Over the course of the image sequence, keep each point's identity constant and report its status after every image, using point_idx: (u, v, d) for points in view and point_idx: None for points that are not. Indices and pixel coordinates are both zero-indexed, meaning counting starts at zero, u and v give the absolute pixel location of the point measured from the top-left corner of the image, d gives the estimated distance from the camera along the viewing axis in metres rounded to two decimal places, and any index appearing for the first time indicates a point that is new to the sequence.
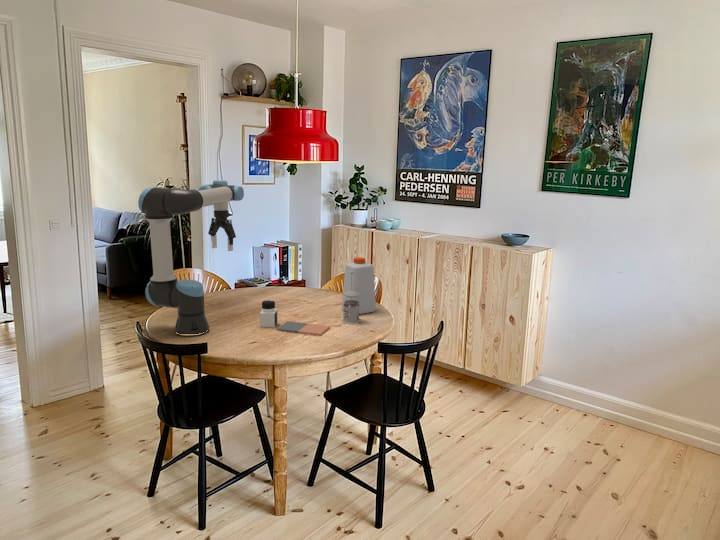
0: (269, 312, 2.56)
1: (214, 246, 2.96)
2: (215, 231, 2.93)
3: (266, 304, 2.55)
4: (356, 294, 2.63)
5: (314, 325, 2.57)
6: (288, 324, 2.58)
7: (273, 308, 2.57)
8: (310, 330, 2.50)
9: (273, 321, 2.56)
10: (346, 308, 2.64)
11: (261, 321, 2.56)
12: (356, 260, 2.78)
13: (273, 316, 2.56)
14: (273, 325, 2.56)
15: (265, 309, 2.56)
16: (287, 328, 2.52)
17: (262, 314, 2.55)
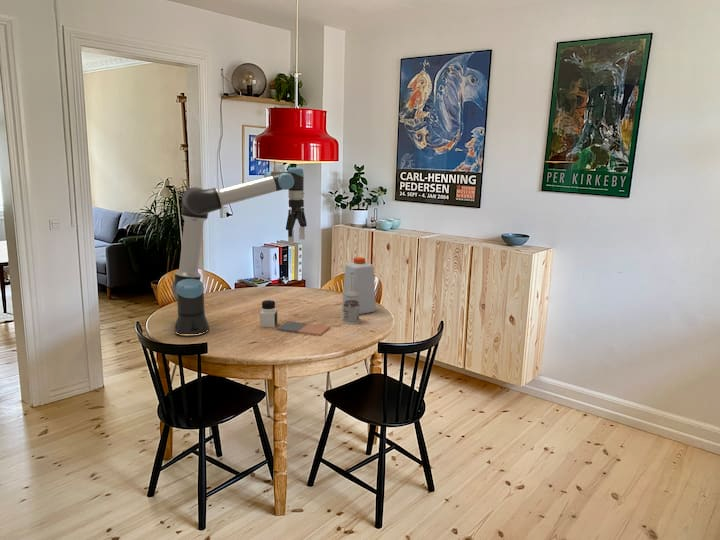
0: (269, 312, 2.56)
1: (301, 237, 2.82)
2: (300, 221, 2.79)
3: (266, 304, 2.55)
4: (356, 294, 2.63)
5: (314, 325, 2.57)
6: (288, 324, 2.58)
7: (273, 308, 2.57)
8: (310, 330, 2.50)
9: (273, 321, 2.56)
10: (346, 308, 2.64)
11: (261, 321, 2.56)
12: (356, 260, 2.78)
13: (273, 316, 2.56)
14: (273, 325, 2.56)
15: (265, 309, 2.56)
16: (287, 328, 2.52)
17: (262, 314, 2.55)
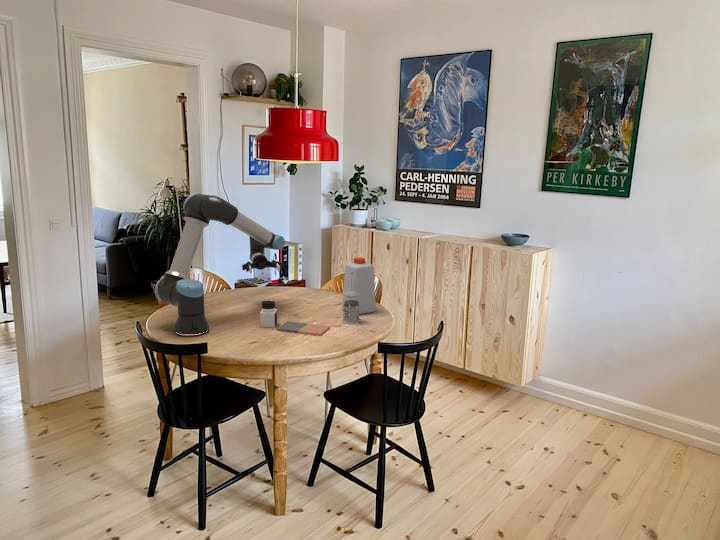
0: (269, 312, 2.56)
1: (251, 269, 2.63)
2: (252, 266, 2.71)
3: (266, 304, 2.55)
4: (356, 294, 2.63)
5: (314, 325, 2.57)
6: (288, 324, 2.58)
7: (273, 308, 2.57)
8: (310, 330, 2.50)
9: (273, 321, 2.56)
10: (346, 308, 2.64)
11: (261, 321, 2.56)
12: (356, 260, 2.78)
13: (273, 316, 2.56)
14: (273, 325, 2.56)
15: (265, 309, 2.56)
16: (287, 328, 2.52)
17: (262, 314, 2.55)
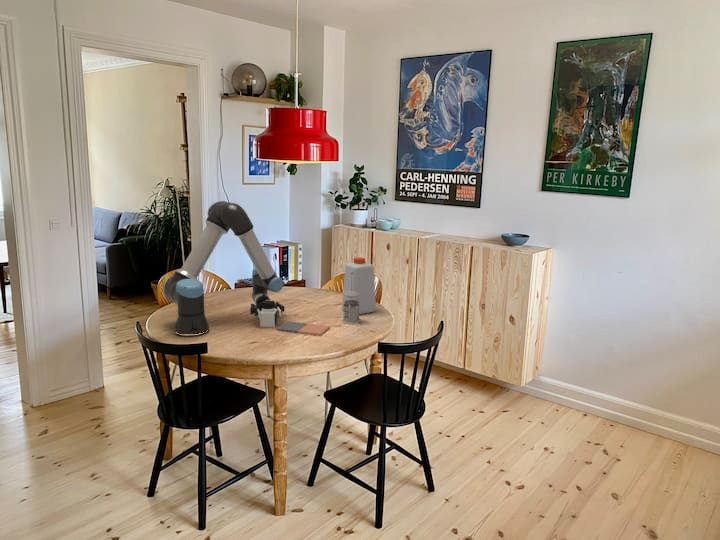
0: (269, 312, 2.56)
1: None
2: (259, 309, 2.62)
3: (266, 304, 2.55)
4: (356, 294, 2.63)
5: (314, 325, 2.57)
6: (288, 324, 2.58)
7: (273, 308, 2.57)
8: (310, 330, 2.50)
9: (273, 321, 2.56)
10: (346, 308, 2.64)
11: (261, 321, 2.56)
12: (356, 260, 2.78)
13: (273, 316, 2.56)
14: (273, 325, 2.56)
15: (265, 309, 2.56)
16: (287, 328, 2.52)
17: (262, 314, 2.55)
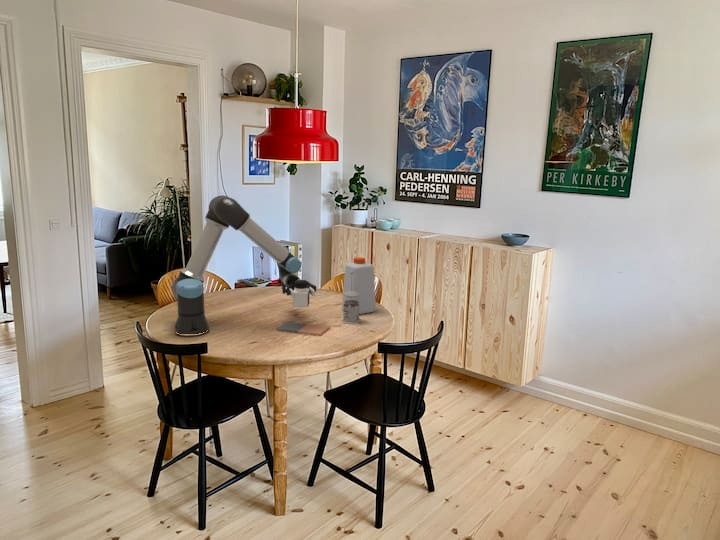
0: (302, 292, 2.50)
1: None
2: (290, 289, 2.57)
3: (299, 283, 2.50)
4: (356, 294, 2.63)
5: (314, 325, 2.57)
6: (288, 324, 2.58)
7: (306, 288, 2.52)
8: (310, 330, 2.50)
9: (306, 301, 2.51)
10: (346, 308, 2.64)
11: (294, 301, 2.51)
12: (356, 260, 2.78)
13: (306, 296, 2.50)
14: (306, 305, 2.51)
15: (298, 289, 2.50)
16: (287, 328, 2.52)
17: (295, 294, 2.50)
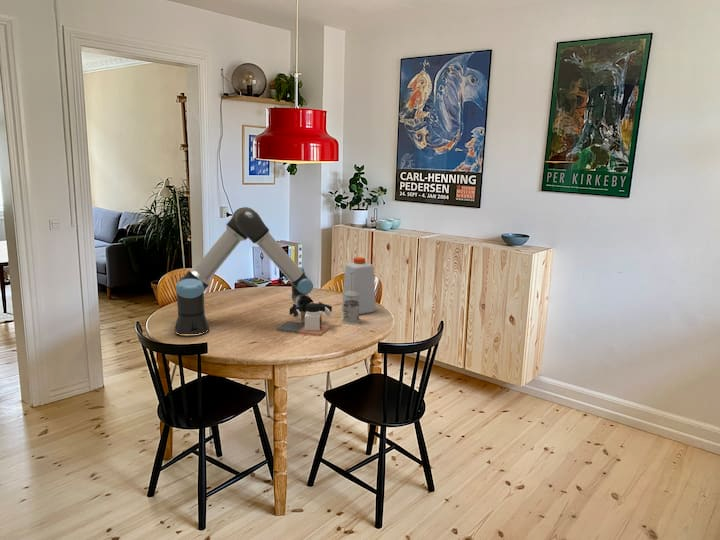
0: (314, 315, 2.48)
1: None
2: (299, 310, 2.55)
3: (311, 307, 2.48)
4: (356, 294, 2.63)
5: None
6: (288, 324, 2.58)
7: (318, 311, 2.50)
8: None
9: (318, 324, 2.49)
10: (346, 308, 2.64)
11: (306, 324, 2.49)
12: (356, 260, 2.78)
13: (318, 319, 2.48)
14: (318, 328, 2.49)
15: (310, 312, 2.48)
16: (287, 328, 2.52)
17: (307, 317, 2.48)
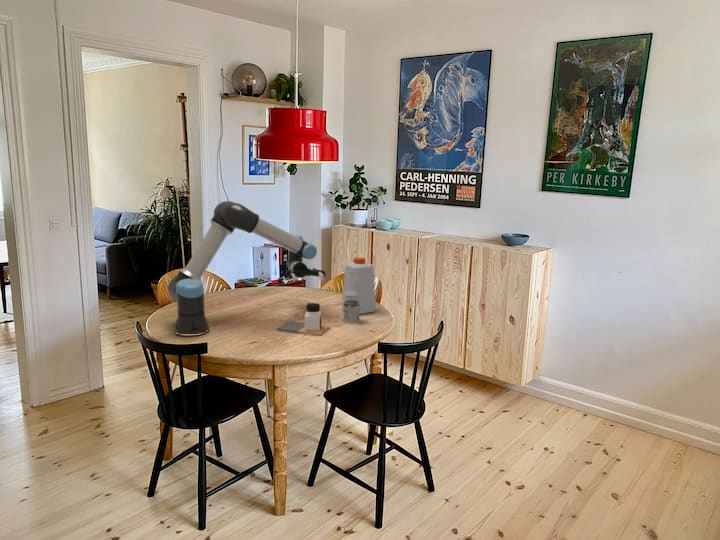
0: (314, 315, 2.48)
1: None
2: (293, 274, 2.64)
3: (311, 307, 2.48)
4: (356, 294, 2.63)
5: None
6: (288, 324, 2.58)
7: (318, 311, 2.50)
8: None
9: (318, 324, 2.49)
10: (346, 308, 2.64)
11: (306, 324, 2.49)
12: (356, 260, 2.78)
13: (318, 319, 2.48)
14: (318, 328, 2.49)
15: (310, 312, 2.48)
16: (287, 328, 2.52)
17: (307, 317, 2.48)
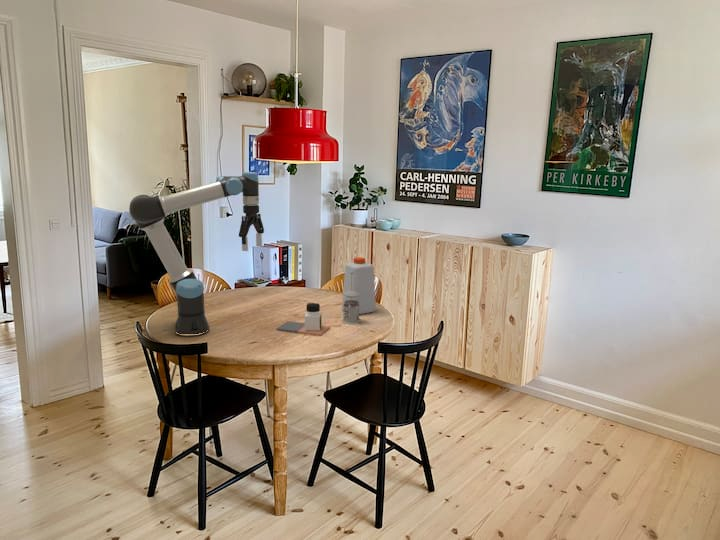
0: (314, 315, 2.48)
1: (258, 244, 2.71)
2: (257, 228, 2.68)
3: (311, 307, 2.48)
4: (356, 294, 2.63)
5: None
6: (288, 324, 2.58)
7: (318, 311, 2.50)
8: None
9: (318, 324, 2.49)
10: (346, 308, 2.64)
11: (306, 324, 2.49)
12: (356, 260, 2.78)
13: (318, 319, 2.48)
14: (318, 328, 2.49)
15: (310, 312, 2.48)
16: (287, 328, 2.52)
17: (307, 317, 2.48)
